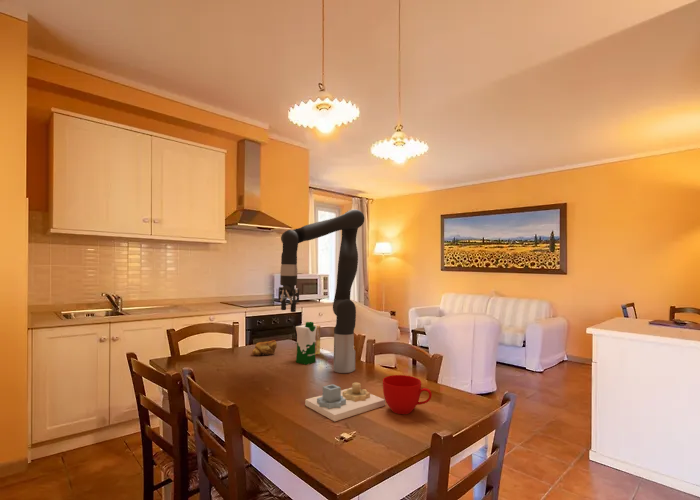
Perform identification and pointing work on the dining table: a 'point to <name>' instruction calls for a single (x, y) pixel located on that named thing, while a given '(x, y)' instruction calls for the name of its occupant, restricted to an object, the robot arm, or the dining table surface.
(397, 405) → the ceramic cup
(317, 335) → the candy box
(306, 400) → the carrier plate
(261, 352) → the bread roll
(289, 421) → the dining table surface
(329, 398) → the planet gear
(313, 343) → the milk carton
